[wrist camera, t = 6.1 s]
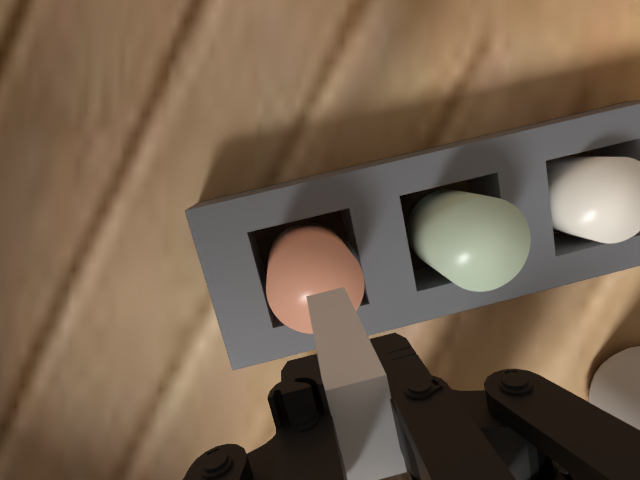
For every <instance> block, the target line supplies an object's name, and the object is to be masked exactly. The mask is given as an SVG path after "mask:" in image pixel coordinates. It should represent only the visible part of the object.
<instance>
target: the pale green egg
mask: <svg viewBox="0 0 640 480" xmlns="http://www.w3.org/2000/svg"><path fill="white" fill-rule="evenodd" d="M407 236H408V241H409V244H410V246H411V248H412V250H413V252H414V253H415V254H416V255H417V256H418V257H419V258H420V259H421V260H423V261H424V262H425V263H427V264H428V265H430V266H431V267H432V268H434V269H435V270H436V271H438V272H439V273H441V274H442V275H443V276H445V277H446V278H448V279H449V280H450V281H452V282H453V283H455V284H456V285H457V286H459V287H461V288H463V289H466V290H470V291H476V292H484V291H490V290H494V289H497V288H499V287H501V286H503V285H505V284H506V283H508V282H509V281H510V280H512V279H513V278H514V277H515V276H516V275H517V274H518V273H519V271H520V270H521V269H522V267H523V265H524V264H525V262H526V260H527V257H528V254H529V250H530V244H531V235H530V229H529V226H528V223H527V221H526V219H525V217H524V215H523V214H522V212H521V211H520V210H519V209H518V208H517V207H516V206H514V205H513V204H511V203H510V202H508V201H506V200H503V199H500V198H495V197H490V196H485V195H480V194H475V193H469V192H464V191H459V190H453V189H443V190H438V191H435V192H432V193H430V194H428V195H427V196H425V197H424V198H423V199H421V200H420V201H419V202H418V203H417V205H416V206H415V207H414V209H413V211H412V212H411V215H410V217H409V221H408V226H407Z"/></svg>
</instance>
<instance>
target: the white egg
mask: <svg viewBox="0 0 640 480" xmlns="http://www.w3.org/2000/svg"><path fill="white" fill-rule="evenodd" d="M546 169H547V178H548V188H549V197H550V207H551V216H552V226H553V230H556V231H560V232H564V233H567V234H571V235H575V236H578V237H582V238H586V239H590V240H593V241H597V242H601V243H608V244H611V243H619V242H622V241H625V240H627V239H629V238H631V237H632V236H634V235H635V234H637V233H638V232H639V231H640V161H638V160H636V159H633V158H630V157H560V158H555V159H551V160H547V161H546Z"/></svg>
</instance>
